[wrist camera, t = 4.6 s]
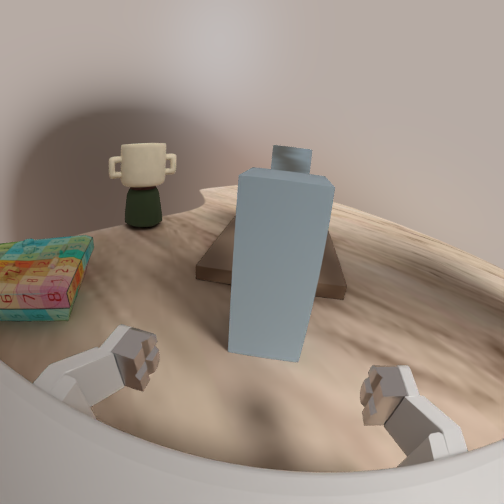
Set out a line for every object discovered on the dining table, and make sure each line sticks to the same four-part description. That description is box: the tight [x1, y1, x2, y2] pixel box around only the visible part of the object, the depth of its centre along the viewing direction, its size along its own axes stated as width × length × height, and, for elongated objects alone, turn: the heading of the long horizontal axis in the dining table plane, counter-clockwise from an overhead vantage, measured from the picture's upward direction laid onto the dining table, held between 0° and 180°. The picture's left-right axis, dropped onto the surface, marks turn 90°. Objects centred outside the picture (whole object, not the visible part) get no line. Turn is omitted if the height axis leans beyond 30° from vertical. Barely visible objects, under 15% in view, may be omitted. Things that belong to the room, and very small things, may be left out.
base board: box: [196, 145, 347, 300], centre depth 36 cm, size 15×24×14 cm, turn 172°
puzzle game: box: [0, 235, 94, 321], centre depth 19 cm, size 12×5×20 cm
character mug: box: [109, 143, 176, 227], centre depth 40 cm, size 11×7×13 cm, turn 123°
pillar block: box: [228, 167, 335, 362], centre depth 18 cm, size 5×5×12 cm
